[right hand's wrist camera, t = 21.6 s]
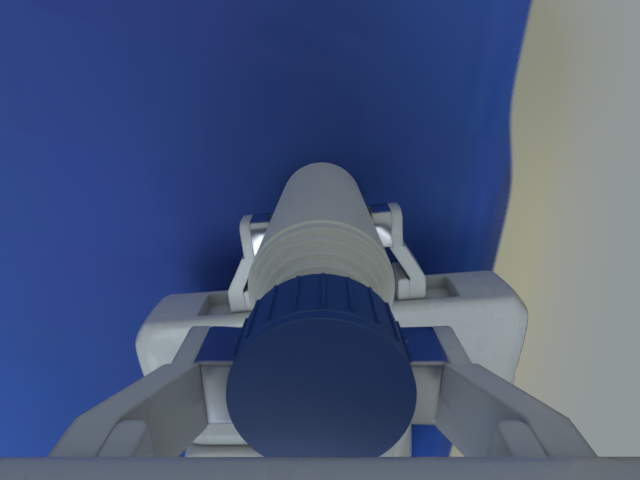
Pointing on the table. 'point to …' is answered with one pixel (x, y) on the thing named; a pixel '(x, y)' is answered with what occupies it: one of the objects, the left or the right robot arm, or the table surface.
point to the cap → (321, 372)
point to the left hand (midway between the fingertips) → (319, 211)
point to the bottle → (321, 235)
